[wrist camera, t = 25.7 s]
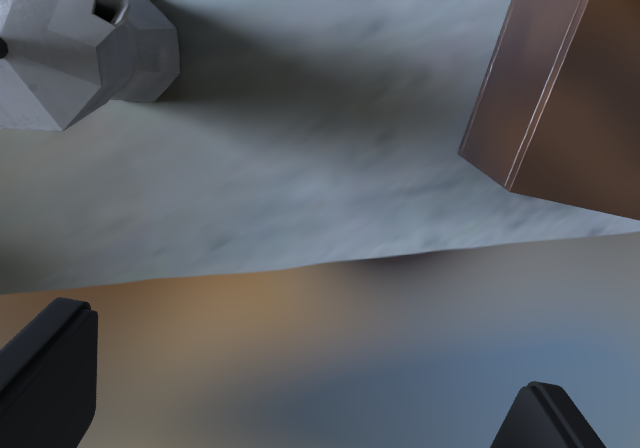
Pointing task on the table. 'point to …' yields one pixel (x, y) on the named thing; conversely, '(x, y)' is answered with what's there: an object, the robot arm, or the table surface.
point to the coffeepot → (80, 58)
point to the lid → (589, 117)
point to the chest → (515, 83)
